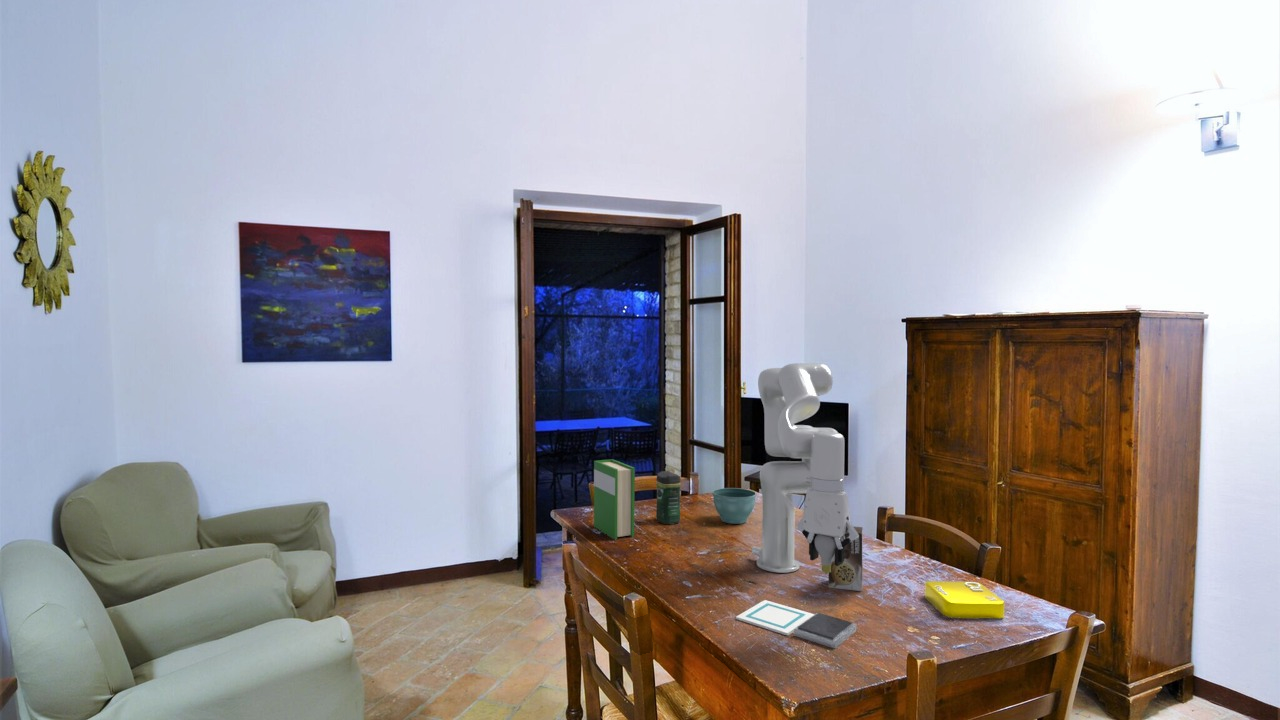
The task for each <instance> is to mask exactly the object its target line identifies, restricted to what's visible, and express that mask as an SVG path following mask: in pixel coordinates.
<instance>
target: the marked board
mask: <svg viewBox="0 0 1280 720" xmlns="http://www.w3.org/2000/svg"><path fill="white" fill-rule="evenodd" d="M815 614H816V613H815ZM815 614H814V613H812V612H807V611H805V610H802V609H798V608H794V607H790V606H788V605H784V604H780V603H777V602H773V601H769V600H766V599H764V600H762V601H760V602H758V603H757V604H755V605H754V606H752V607H750V608H749V609H747V610H745V611H744V612H742V613H740V614H738V615H736V616H735V620H737V621H741V622H744V623H746V624H750V625H753V626H757V627H758V628H759V627H760V628H763V629H765V630H769V631H772V632H775V633H779V634H782V635H785V636H789V635H791V634H792V633H793V634H794V628H796V627H797V626H799V625H800V624H802V623H803V622H804V621H806V620H807V619H809V618H810V617H812V616H813V615H815Z"/></svg>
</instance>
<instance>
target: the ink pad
mask: <svg viewBox="0 0 1280 720" xmlns="http://www.w3.org/2000/svg"><path fill="white" fill-rule="evenodd" d="M857 625H858V624H857V623H854V622H853V621H848V620H845V619H841V618H839V617H834V616H832V615H831V616H830V615H827V614H824V613H821V612H816V613H815V615H813V616H812V617H810V618H809V619H807V620H806V621H804V622H803V623H802V624H800V625H799V626H797V627H796V628H794V632H793V636H794V637H797V638H800V639H804V640H807V641H809V642H813V643H816V644H819V645H822V646H825V647H828V648H832V649H836V648H838V647H839V646H840V645H842V644H843V643H844V642H845V641H846V640H847V639H849V638H850V637H851V636H853V635H854V634H855V633H856V632H857V631H858V629H857V628H858V626H857Z"/></svg>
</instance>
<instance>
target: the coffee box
mask: <svg viewBox="0 0 1280 720" xmlns="http://www.w3.org/2000/svg"><path fill="white" fill-rule="evenodd" d="M853 527H854V529H855V530H856V531H857V533H858V534H859V537H858V538H856V539H855V540H853V541H852V542H851V543H849V544H848V545H847V546H846V547H845V559H844V562H843V563H842V564H841V565H839V566H835V554H834V556H833V557H832V560H831V572H830V573H828V584H827V585H828V586H827V587H828V589H829V588H830V589H836V590H837V589H839V590H848V591H856V592H862V591H863V587H864V585H863V583H864V581H863V580H864V578H863V573H864V572H863V570H864V569H863V566H864V565H863V564H864V563H863V558H864V557H863V555H864V552H863V549H864V547H863V543H864V538H863V537H864V536H863V535H864V533H863V526H862V527H861V526H853ZM849 535H850V534H849V533H847V534H844V536H845V539H846V538H847V537H849Z"/></svg>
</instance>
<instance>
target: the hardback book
mask: <svg viewBox="0 0 1280 720" xmlns="http://www.w3.org/2000/svg"><path fill="white" fill-rule="evenodd" d="M593 465H594V466H593V527H594V526H595V527H596V528H595V527H594V528H595V529H597V528H598V529H599V531H600V530H601V531H602V532H601V531H600V532H601V533H603V532H604V533H603V534H604V535H606V534H607V535H606V536H608V537H609V536H610V537H609V538H611V539H613V540H614V539H615V540H614V541H617V540H618V538H620V537H626V536H629V535H630V536H631V537H630V536H629V537H630V538H635V493H636V492H635V489H636V488H635V486H636V485H635V481H636V480H635V477H636V474H635V471H636V470H635V467H634V466H631V465H628V464H626V463H623V462H621V461H618V460H615V459H601V460H593ZM598 529H597V530H598ZM616 539H617V540H616Z"/></svg>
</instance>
